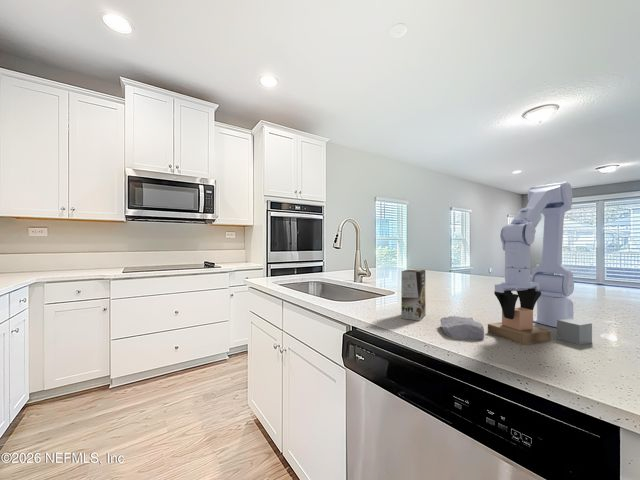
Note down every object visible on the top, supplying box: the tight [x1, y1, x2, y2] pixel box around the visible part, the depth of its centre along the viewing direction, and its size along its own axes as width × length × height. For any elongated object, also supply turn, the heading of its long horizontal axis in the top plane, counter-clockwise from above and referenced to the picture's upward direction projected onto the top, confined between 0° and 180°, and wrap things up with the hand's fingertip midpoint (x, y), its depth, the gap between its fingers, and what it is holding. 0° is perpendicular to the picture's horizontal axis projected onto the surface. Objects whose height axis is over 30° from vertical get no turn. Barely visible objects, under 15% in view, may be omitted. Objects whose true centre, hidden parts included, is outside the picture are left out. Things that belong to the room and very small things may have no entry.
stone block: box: [440, 315, 485, 340], centre depth 80 cm, size 12×5×10 cm
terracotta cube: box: [501, 305, 534, 330], centre depth 77 cm, size 5×5×5 cm
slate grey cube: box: [556, 318, 593, 345], centre depth 73 cm, size 5×5×5 cm
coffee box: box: [400, 269, 427, 322], centre depth 96 cm, size 9×6×16 cm
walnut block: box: [487, 321, 551, 346], centre depth 76 cm, size 10×10×3 cm
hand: (517, 317), depth 76 cm, fingers open, 6 cm apart
